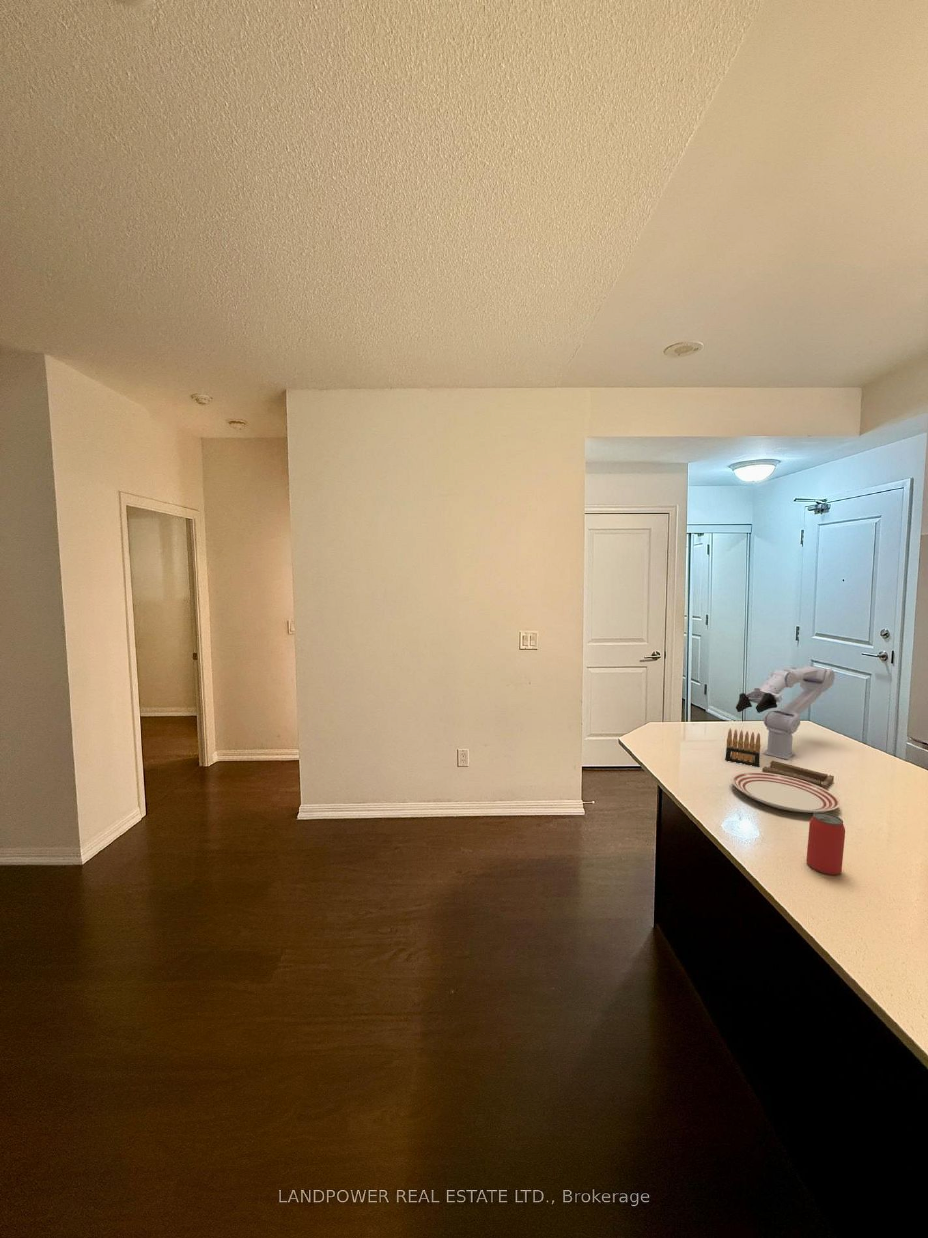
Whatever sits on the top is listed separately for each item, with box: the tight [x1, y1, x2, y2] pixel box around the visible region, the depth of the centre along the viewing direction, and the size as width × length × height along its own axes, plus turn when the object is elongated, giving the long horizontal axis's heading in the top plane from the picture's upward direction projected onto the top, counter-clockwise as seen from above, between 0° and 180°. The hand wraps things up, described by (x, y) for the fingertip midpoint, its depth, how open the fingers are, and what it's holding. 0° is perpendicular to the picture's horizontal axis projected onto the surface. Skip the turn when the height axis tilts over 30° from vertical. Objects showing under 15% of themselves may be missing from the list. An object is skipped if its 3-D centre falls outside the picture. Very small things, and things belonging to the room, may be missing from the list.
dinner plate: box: [731, 771, 841, 814], centre depth 148 cm, size 28×27×3 cm
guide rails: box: [761, 760, 835, 791], centre depth 163 cm, size 11×18×2 cm, turn 42°
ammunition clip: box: [724, 728, 761, 768], centre depth 175 cm, size 11×2×12 cm, turn 59°
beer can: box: [805, 812, 846, 876], centre depth 112 cm, size 7×7×12 cm
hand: (747, 710), depth 172 cm, fingers open, 7 cm apart
